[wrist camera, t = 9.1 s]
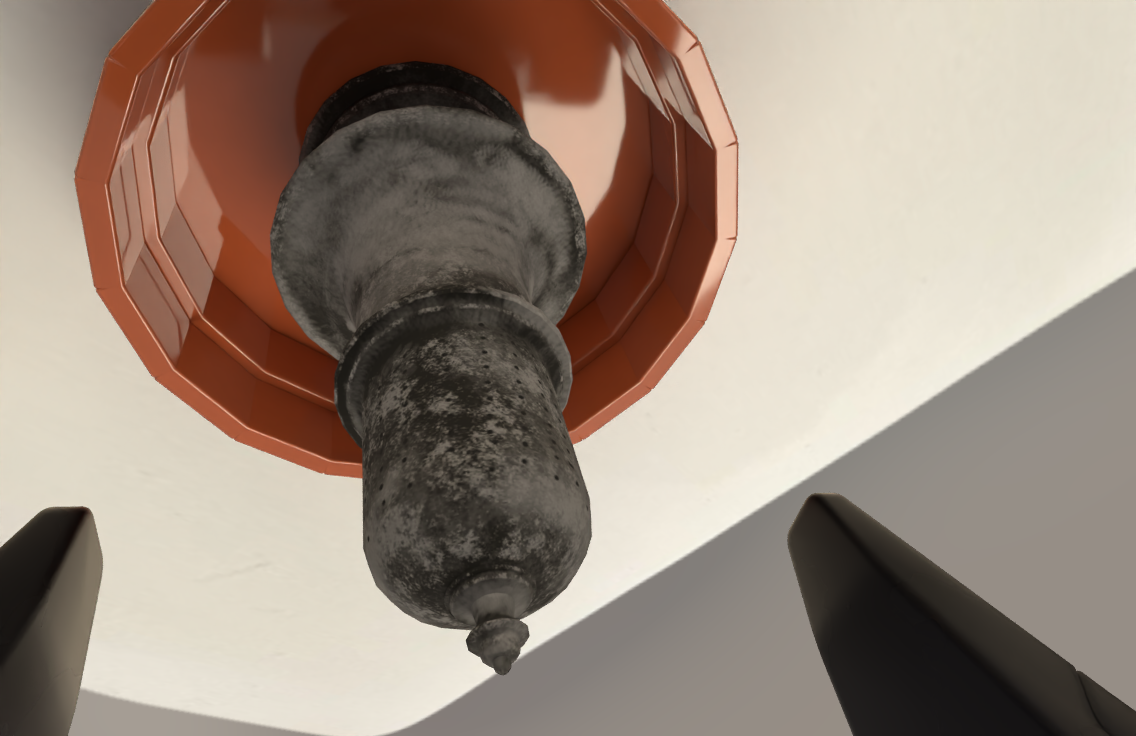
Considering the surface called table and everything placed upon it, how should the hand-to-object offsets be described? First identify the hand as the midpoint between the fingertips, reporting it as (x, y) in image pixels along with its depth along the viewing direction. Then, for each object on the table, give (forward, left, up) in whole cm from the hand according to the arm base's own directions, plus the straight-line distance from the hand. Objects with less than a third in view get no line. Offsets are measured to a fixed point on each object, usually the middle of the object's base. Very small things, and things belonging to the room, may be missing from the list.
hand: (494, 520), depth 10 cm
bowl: (0, 0, -10) cm, 11 cm away
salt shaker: (0, 0, -10) cm, 10 cm away
